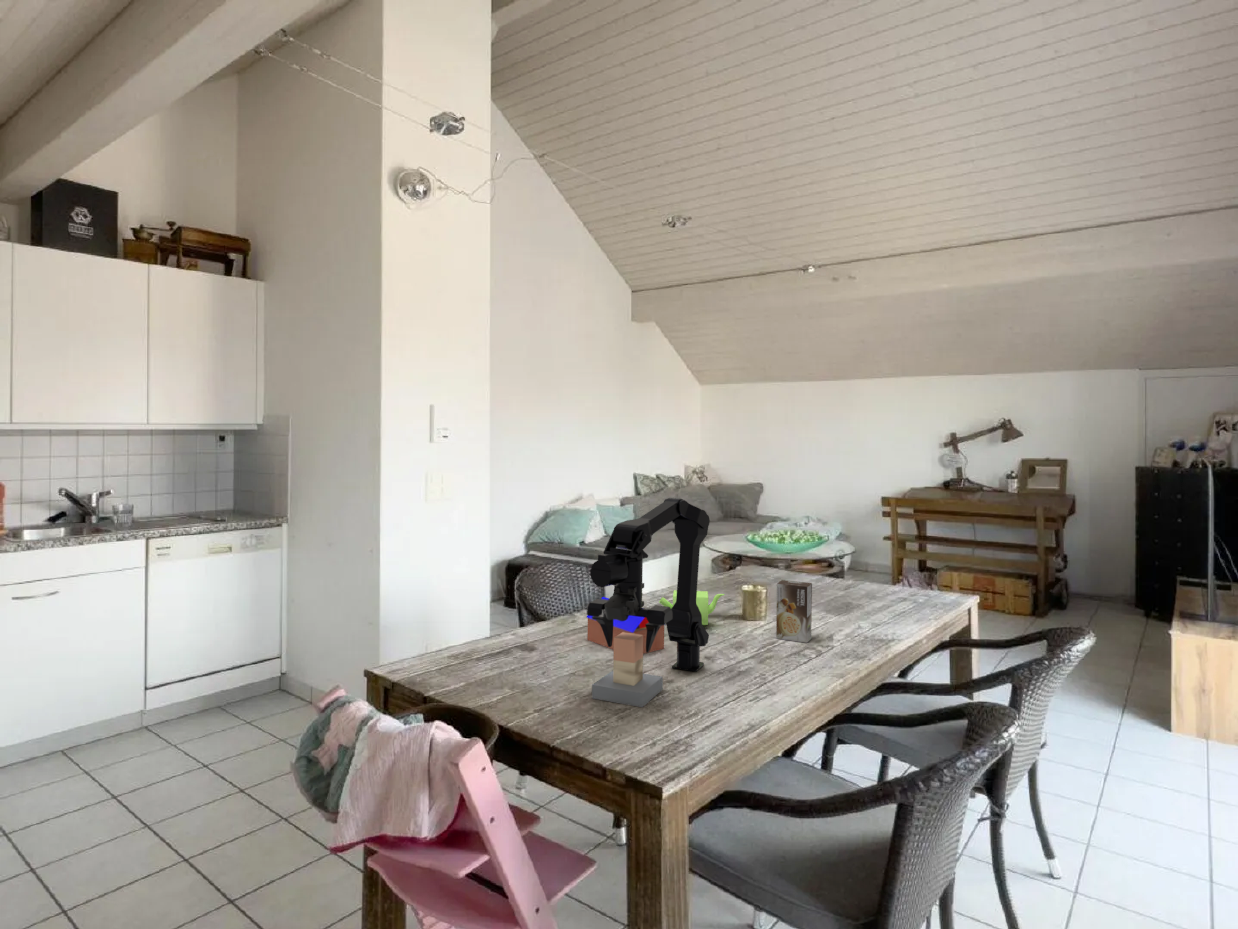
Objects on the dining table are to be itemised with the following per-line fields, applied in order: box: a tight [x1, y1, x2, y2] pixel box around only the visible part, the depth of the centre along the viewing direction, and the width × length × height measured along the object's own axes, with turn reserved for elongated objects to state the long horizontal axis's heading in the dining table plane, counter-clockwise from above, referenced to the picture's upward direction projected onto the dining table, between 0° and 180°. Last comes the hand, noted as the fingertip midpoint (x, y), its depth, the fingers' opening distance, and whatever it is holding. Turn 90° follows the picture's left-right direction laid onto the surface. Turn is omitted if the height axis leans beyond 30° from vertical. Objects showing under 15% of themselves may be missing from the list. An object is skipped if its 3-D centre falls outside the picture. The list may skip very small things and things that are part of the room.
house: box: [586, 596, 666, 655], centre depth 200 cm, size 12×20×12 cm, turn 40°
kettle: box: [658, 589, 725, 626], centre depth 221 cm, size 15×14×11 cm
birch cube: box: [612, 656, 644, 686], centre depth 162 cm, size 5×5×5 cm
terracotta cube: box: [612, 632, 644, 663], centre depth 162 cm, size 5×5×5 cm
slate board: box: [591, 670, 664, 708], centre depth 162 cm, size 12×12×3 cm
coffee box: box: [775, 579, 813, 644], centre depth 208 cm, size 9×6×16 cm
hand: (628, 649), depth 162 cm, fingers open, 9 cm apart
